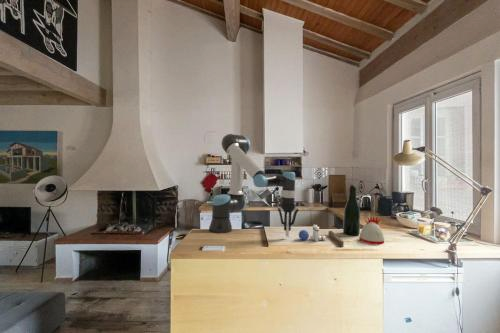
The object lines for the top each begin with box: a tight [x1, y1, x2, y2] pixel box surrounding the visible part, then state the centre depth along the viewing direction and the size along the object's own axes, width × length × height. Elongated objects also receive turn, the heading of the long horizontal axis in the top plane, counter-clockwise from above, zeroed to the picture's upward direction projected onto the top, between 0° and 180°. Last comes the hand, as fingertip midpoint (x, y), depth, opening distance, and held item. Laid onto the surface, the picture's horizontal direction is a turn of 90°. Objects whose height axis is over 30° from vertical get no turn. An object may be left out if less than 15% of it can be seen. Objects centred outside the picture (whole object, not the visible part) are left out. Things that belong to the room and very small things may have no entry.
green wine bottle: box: [342, 184, 361, 236], centre depth 185 cm, size 10×10×33 cm
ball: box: [298, 229, 310, 241], centre depth 166 cm, size 6×6×6 cm
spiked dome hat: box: [359, 216, 385, 245], centre depth 169 cm, size 14×14×15 cm
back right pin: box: [313, 226, 320, 243], centre depth 165 cm, size 2×2×8 cm
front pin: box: [310, 235, 326, 241], centre depth 167 cm, size 2×2×8 cm
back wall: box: [328, 230, 344, 248], centre depth 167 cm, size 2×24×3 cm, turn 179°
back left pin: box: [312, 224, 318, 236], centre depth 170 cm, size 2×2×8 cm
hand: (287, 235), depth 168 cm, fingers closed
